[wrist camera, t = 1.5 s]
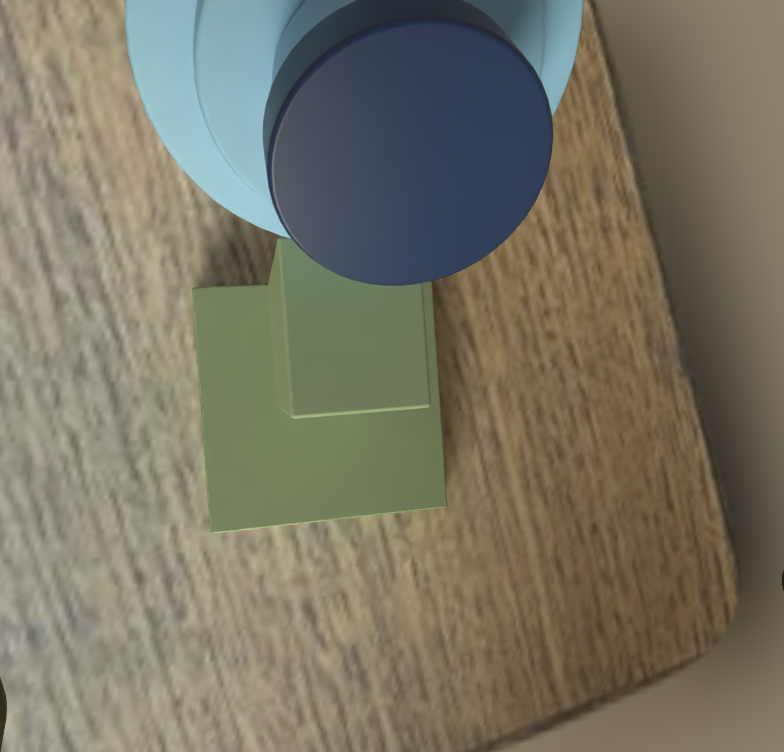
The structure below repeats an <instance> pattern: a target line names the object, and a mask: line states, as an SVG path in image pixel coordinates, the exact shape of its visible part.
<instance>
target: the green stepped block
mask: <svg viewBox="0 0 784 752" xmlns="http://www.w3.org/2000/svg"><path fill="white" fill-rule="evenodd" d="M192 293H193V307H194V320H195V334H196V348H197V361H198V375H199V388H200V402H201V415H202V429H203V442H204V456H205V469H206V483H207V496H208V510H209V524H210V532H211V533H212V534H213V533H222V532H231V531H240V530H249V529H257V528H266V527H275V526H284V525H293V524H302V523H310V522H319V521H328V520H337V519H346V518H355V517H363V516H372V515H381V514H390V513H399V512H408V511H417V510H425V509H434V508H443V507H447V493H446V479H445V464H444V450H443V436H442V421H441V407H440V392H439V378H438V364H437V349H436V335H435V320H434V306H433V292H432V281H429V282H424V283H420V284H413V285H403V286H382V285H374V284H367V283H363V282H358V281H354V280H351V279H348V278H345V277H343V276H340V275H338V274H336V273H334V272H332V271H330V270H328V269H326V268H324V267H323V266H321V265H320V264H318V263H317V262H315V261H314V260H313V259H311V258H310V257H309V256H308V255H307V254H306V253H305V252H303V251H302V250H301V249H300V248H299V247H298V246H297V245H296V243H295V242H294V241H293V240H292V239H291V238H288V237H284V236H281V237H279V238H278V241H277V245H276V250H275V255H274V259H273V264H272V269H271V273H270V278H269V283H268V284H255V285H233V286H210V287H194V288H193V289H192Z"/></svg>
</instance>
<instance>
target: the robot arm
mask: <svg viewBox="0 0 784 752" xmlns="http://www.w3.org/2000/svg"><path fill="white" fill-rule="evenodd" d="M782 586H783V590H784V571H783V575H782ZM6 714H7V701H6V694H5V691H4V688H3V684H2V681H1V678H0V752H1V746H2V740H3V734H4V729H5V723H6Z"/></svg>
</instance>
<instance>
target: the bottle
mask: <svg viewBox="0 0 784 752" xmlns="http://www.w3.org/2000/svg"><path fill="white" fill-rule="evenodd" d="M582 11H583V0H125V15H124V18H125V29H126V39H127V49H128V54H129V59H130V63H131V67H132V72H133V76H134V80H135V84H136V86H137V89H138V92H139V95H140V97H141V100H142V103H143V105H144V108H145V111H146V113H147V115H148V117H149V119H150V121H151V122H152V124H153V126H154V128H155V130H156V132H157V134H158V136H159V138H160V139H161V141H162V142H163V144H164V145H165V147H166V148H167V149H168V151H169V152H170V154H171V155H172V157H173V158H174V160H175V161H176V162H177V163H178V165H179V166H180V167H181V168H182V169H183V170H184V171H185V172H186V174H187V175H188V176H189V177H190V178H191V179H192V180H193V181H194V182H195V183H196V184H197V185H198V186H199V187H200V188H201V189H202V190H204V191H205V192H206V193H207V194H208V195H209V196H210V197H212V198H213V199H214V200H215V201H216V202H218V203H219V204H221V205H222V206H224V207H225V208H226V209H228V210H229V211H231V212H232V213H234V214H235V215H237V216H238V217H240V218H242V219H244V220H246V221H248V222H250V223H252V224H254V225H256V226H258V227H260V228H262V229H265V230H268V231H270V232H273V233H275V234H278V235H281V236H284V237H288V238H291V239H292V240H293V241H294V242H295V243H296V245H297V246H298V247H299V248H300V249H301V250H302V251H303V252H305V253H306V254H307V255H308V256H309V257H310V258H311V259H313V260H314V261H315V262H317V263H318V264H320V265H321V266H323V267H324V268H326V269H328V270H330V271H332V272H334V273H336V274H338V275H340V276H343V277H345V278H348V279H351V280H354V281H358V282H363V283H367V284H374V285H382V286H403V285H413V284H420V283H424V282H429V281H433V280H437V279H440V278H443V277H446V276H449V275H451V274H454V273H456V272H458V271H461V270H463V269H465V268H467V267H468V266H470V265H472V264H474V263H476V262H478V261H479V260H480V259H482V258H483V257H485V256H486V255H488V254H489V253H491V252H492V251H493V250H494V249H496V248H497V247H498V246H499V245H500V244H501V243H503V242H504V241H505V240H506V239H507V238H508V237H509V236H510V235H511V234H512V233H513V232H514V231H515V230H516V228H517V227H518V226H519V225H520V223H521V222H522V221H523V219H524V218H525V217H526V216H527V214H528V212H529V211H530V209H531V208H532V206H533V204H534V203H535V201H536V199H537V197H538V195H539V193H540V191H541V189H542V186H543V184H544V181H545V178H546V175H547V172H548V169H549V164H550V159H551V154H552V143H553V123H552V117H553V115H554V113H555V111H556V109H557V106H558V104H559V102H560V100H561V98H562V95H563V93H564V91H565V89H566V86H567V83H568V80H569V77H570V74H571V71H572V68H573V64H574V61H575V57H576V52H577V47H578V42H579V38H580V33H581V22H582Z"/></svg>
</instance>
